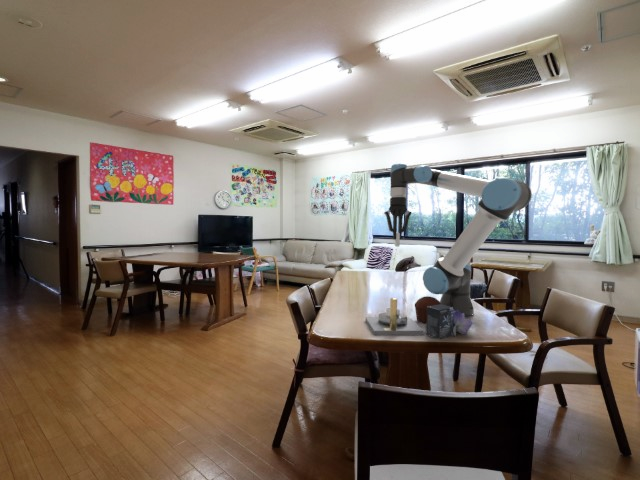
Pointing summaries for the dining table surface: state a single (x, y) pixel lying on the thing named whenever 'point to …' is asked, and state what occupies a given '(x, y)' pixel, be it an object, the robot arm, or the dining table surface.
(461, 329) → the flower
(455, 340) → the dining table surface
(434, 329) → the box
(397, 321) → the crank handle
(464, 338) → the dining table surface
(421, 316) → the muffin
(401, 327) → the stand
